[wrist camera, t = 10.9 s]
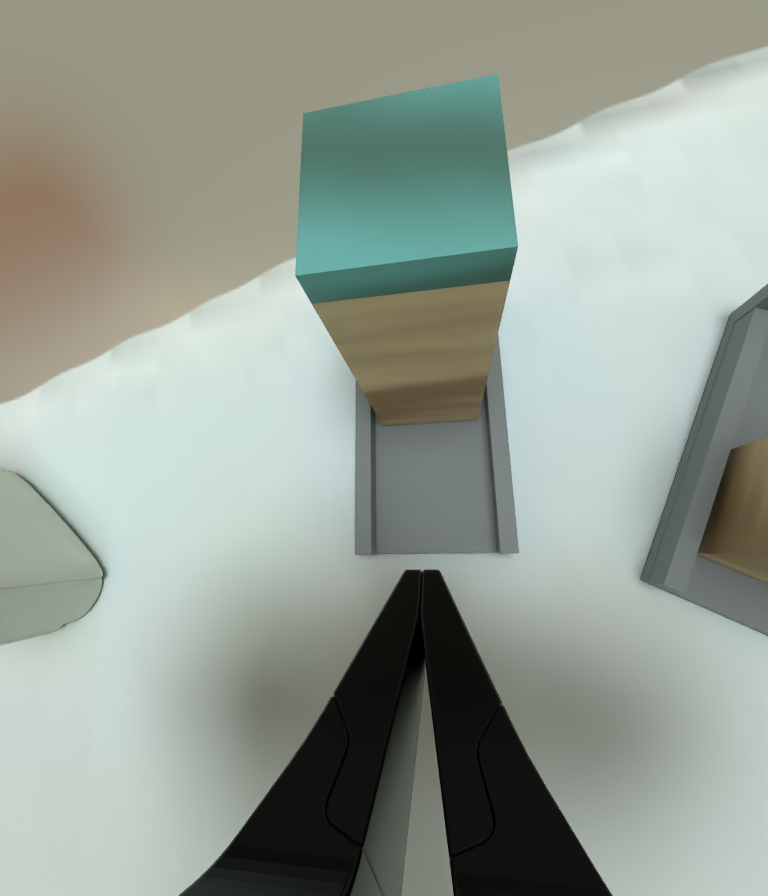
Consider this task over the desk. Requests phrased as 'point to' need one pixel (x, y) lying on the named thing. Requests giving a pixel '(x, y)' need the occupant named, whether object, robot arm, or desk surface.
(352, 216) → the oak key
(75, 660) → the desk surface
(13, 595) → the photo printer
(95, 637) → the desk surface
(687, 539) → the slate track
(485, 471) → the slate track
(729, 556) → the oak key
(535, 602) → the desk surface
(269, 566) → the desk surface
